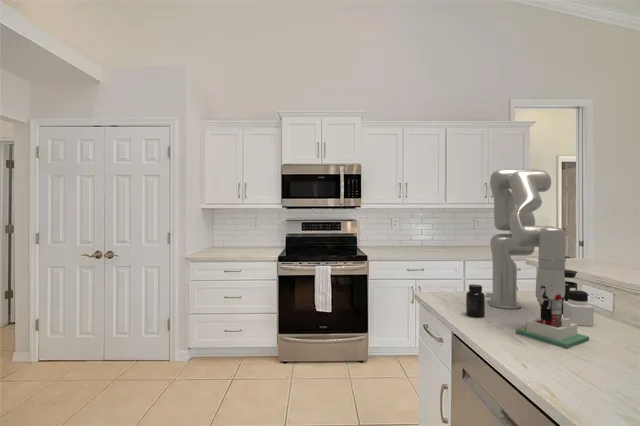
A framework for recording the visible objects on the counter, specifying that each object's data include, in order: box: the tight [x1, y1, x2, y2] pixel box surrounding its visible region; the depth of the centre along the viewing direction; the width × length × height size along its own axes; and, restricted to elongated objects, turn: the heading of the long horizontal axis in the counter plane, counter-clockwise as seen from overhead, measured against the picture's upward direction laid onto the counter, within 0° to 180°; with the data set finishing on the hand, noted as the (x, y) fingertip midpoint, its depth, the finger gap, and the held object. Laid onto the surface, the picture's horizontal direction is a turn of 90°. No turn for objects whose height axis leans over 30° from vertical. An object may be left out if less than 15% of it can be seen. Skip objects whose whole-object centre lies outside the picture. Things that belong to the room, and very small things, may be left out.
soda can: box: [542, 294, 562, 328], centre depth 122 cm, size 6×6×12 cm
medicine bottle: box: [562, 289, 594, 327], centre depth 137 cm, size 7×7×12 cm
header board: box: [515, 316, 590, 349], centre depth 122 cm, size 16×14×7 cm
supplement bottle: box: [465, 283, 486, 319], centre depth 147 cm, size 7×7×12 cm
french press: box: [561, 255, 578, 315], centre depth 152 cm, size 12×9×23 cm
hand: (551, 318), depth 122 cm, fingers closed on soda can, 5 cm apart
